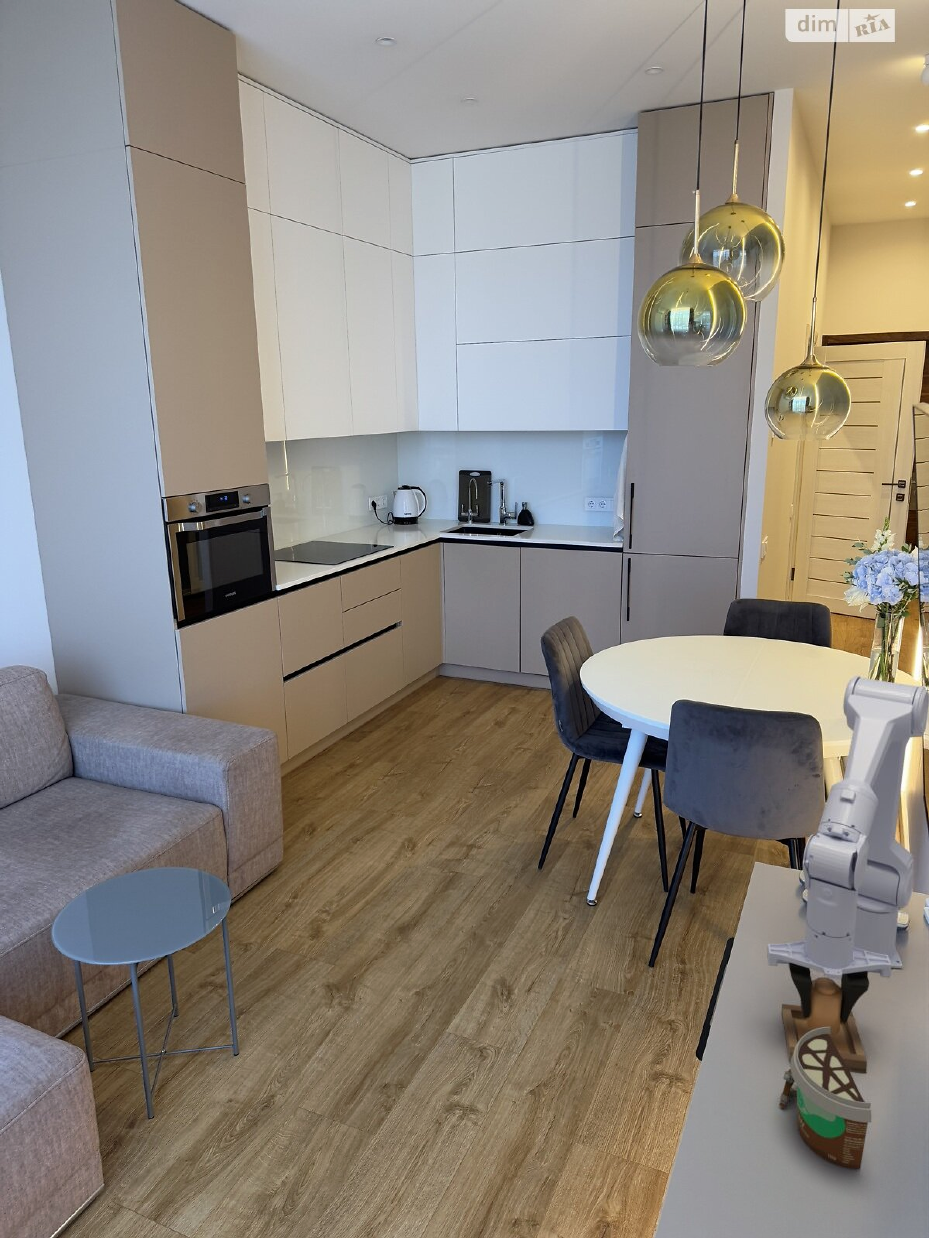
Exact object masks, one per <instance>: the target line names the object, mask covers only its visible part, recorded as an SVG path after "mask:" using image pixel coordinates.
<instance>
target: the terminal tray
mask: <svg viewBox="0 0 929 1238" xmlns="http://www.w3.org/2000/svg"><path fill="white" fill-rule="evenodd" d="M781 1019H782V1021H781V1022H782V1027H783V1031H784V1036H785V1041H786V1042H785V1043H786V1047H787V1053H788V1054H787V1055H788V1059H789V1064H791V1058H792V1055H793V1052H794V1050H795V1047H796V1045H797V1043H798V1042H799V1041H800V1039H801V1038H802V1037H803V1036H804V1035H805V1034H806V1033H808V1032H810V1031H812V1030H811V1029H810V1028H809V1027H808V1025H807V1018H805V1017H803V1014H802V1009H801V1005H796V1004H787V1003H782V1004H781ZM830 1037H831V1039H832V1041H833V1043H834V1044H835V1046H836V1048H837V1050H838V1052H839V1054H840V1055H841V1057H842V1059H843V1060H844V1062H845V1063H846V1065H847V1066H848V1069H849V1071H850V1073H851V1072H854V1073H860V1074H867V1066H868V1060H867V1057H866V1054H865V1050H864V1047H863V1044H862V1039H861V1036H860V1033H859V1030H858V1027H857V1023H856V1019H855V1017H854V1013H853V1011H852V1010H851V1012H850V1015H849V1017H848V1020H847V1022H841V1018H840V1030H839V1032H838V1033H837V1034H836V1035H833V1036H830Z"/></svg>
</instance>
